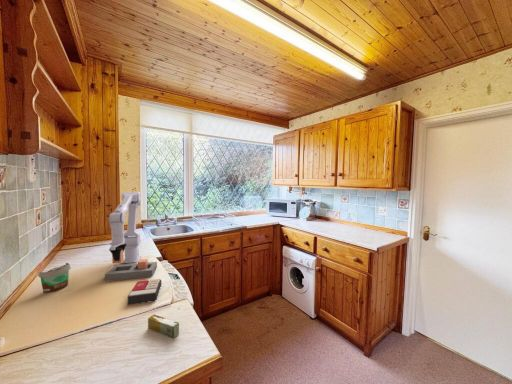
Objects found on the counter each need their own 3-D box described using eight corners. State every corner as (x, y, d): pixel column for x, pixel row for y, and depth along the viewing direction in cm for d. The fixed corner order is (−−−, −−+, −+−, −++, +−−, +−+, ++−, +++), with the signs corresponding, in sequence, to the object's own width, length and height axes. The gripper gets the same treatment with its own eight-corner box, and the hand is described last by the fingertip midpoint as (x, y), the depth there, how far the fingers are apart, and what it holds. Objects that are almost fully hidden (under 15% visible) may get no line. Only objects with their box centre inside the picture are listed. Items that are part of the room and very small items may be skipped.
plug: (115, 260, 118) (115, 250, 118) (123, 260, 119) (123, 249, 119) (112, 263, 114) (112, 252, 114) (120, 262, 115) (120, 251, 115)
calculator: (161, 277, 106) (156, 291, 92) (161, 286, 106) (156, 301, 92) (136, 280, 103) (127, 295, 89) (137, 289, 103) (127, 305, 89)
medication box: (179, 333, 73) (179, 322, 73) (173, 339, 70) (173, 327, 70) (153, 324, 77) (153, 313, 77) (147, 329, 75) (147, 317, 75)
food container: (50, 295, 95) (48, 273, 95) (39, 294, 97) (38, 272, 96) (78, 282, 107) (77, 263, 107) (68, 281, 109) (67, 262, 108)
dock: (114, 271, 121) (114, 259, 120) (157, 267, 126) (156, 255, 126) (105, 281, 109) (104, 267, 109) (152, 276, 114) (151, 263, 114)
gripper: (115, 231, 122) (115, 254, 123) (103, 238, 108) (104, 264, 109) (128, 231, 124) (129, 254, 124) (118, 237, 109) (119, 263, 110)
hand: (118, 259), depth 117 cm, fingers closed on plug, 4 cm apart
